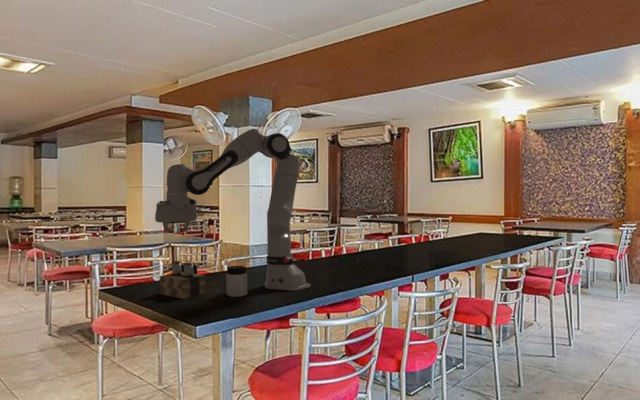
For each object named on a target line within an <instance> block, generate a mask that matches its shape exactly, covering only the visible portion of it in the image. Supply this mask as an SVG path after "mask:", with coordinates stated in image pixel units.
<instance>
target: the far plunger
mask: <svg viewBox="0 0 640 400" xmlns="http://www.w3.org/2000/svg"><path fill="white" fill-rule="evenodd" d="M182 265H183V261H182V260H172V261H171V269H172V270H171V271H172V272H171V274H172V276H181V275H182Z"/></svg>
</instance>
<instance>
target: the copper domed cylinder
mask: <svg viewBox="0 0 640 400" xmlns="http://www.w3.org/2000/svg"><path fill="white" fill-rule="evenodd" d="M183 265H184V278H191V277H194V272H193V265H195V264H194V262H193V261H192V262H191V261H186V262H183Z"/></svg>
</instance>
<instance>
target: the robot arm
mask: <svg viewBox="0 0 640 400" xmlns="http://www.w3.org/2000/svg"><path fill="white" fill-rule="evenodd" d="M257 153H261V154H262V155H263V156H265V157H267V158H269V159H274V160H275V163H276V164H275V165H276V167H275V170H274V175H273V176H274V177H273V180H272V181H273V182H272V188H271V194H270V198H269V204H268V209H267V212H266V227H267V228H266V229H267V230H266V231H267V236H266V237H267V244H266V245H267V255H266V265H267V267H266V277H265V281H264V285H263V286H264V287H265V289H271V290H280V291H282V290H283V291H292V292H293V291H295V292H296V291H300V290H305V289H308V288H310V287H311V283H307V281H306V275H305V273H304V272H303V270H301V269H300V268H299V267H298V266H297V265H296V264H295V262H294V261H295V260H296V257H293V256H292V250H291V249H292V247H291V246H292V245H291V244H292V243H291V241H292V240H291V219H292V214H293V207H294V201H295V193H296V190H297V189H296V188H297V185H298V180H299V179H298V177H299V173H300V172H299V171H300V157H299V156H298V155H297V154H296V153H295V152H292V148H291V145H290V142H289V139H288V138H287V136H286V135H285V134H283V133H279V132H276V133H275V132H274V133H271V134H268V135H264V134H263V133H262V132H261V131H260V130H259V129H257V128H250V129H248V130H246V131H244V132H242V133H240V135H238V136H237V137H235V138H234V139H233V140H231V141H230V142H229V143H228V145H227V146H226V147H225V148H224V150H223V151H222V153H221V154H220V156H219V157H218V158H217V159H216V160H214V161H213V162H212V163H210V164H209V165H207V166H206V167H205V168H203V169H201V170H200V169H199V170H195V169H192V168H190V167H189V166H187V165H186V164H184V163H182V164H181V163H180V164H173V165H171V166H170V167H168V169H167V173H166V174H167V175H166V188H167V191H166V200H159V202H157V203H156V204H155V205H156V209H155V215H154V219H155V222H156V223H162V226H163V228H164V233H167V234H168V233H171V228H169V223H177V222H178V223H179V222H180V223H182V222H183V223H184V226H183V227H181V230H182V232H188V228H189V226H190V222H195V221H197V218H198V212H197V211H198V209H197V206H196V205H197V200H195V199H193V198H190V197H189V196H188V193H190V194H192V195H195V196H200V195H201V196H202V195H204V194H206V193H207V192H208V191H209V189H210V188H211V185H212V183H213V182H214V181H215V180H216V179H217V178H219V176H221V175H222V174H223V173H225V172H226V171H228V170H229V169H231V168H234V167H236V166H239V165H242V164H243V163H244V162H246V161H248V160H249V159H251V158H252V157H253V156H255V154H257Z"/></svg>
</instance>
